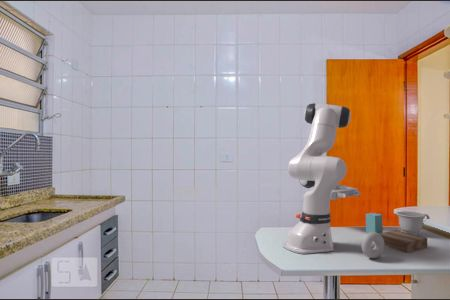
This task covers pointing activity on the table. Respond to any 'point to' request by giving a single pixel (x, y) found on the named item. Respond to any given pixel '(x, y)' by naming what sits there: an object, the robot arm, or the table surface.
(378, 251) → the donut
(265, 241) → the table surface
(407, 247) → the oak base
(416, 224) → the teacup
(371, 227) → the teal block
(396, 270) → the table surface
